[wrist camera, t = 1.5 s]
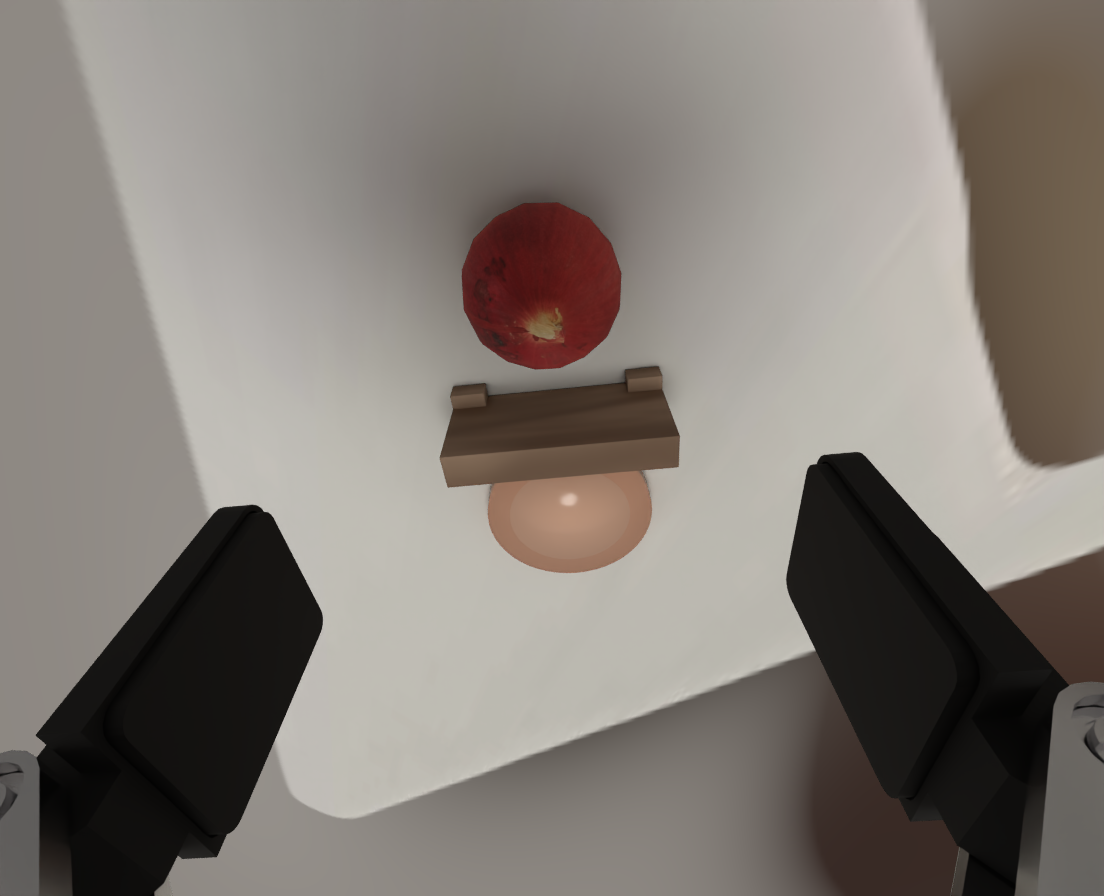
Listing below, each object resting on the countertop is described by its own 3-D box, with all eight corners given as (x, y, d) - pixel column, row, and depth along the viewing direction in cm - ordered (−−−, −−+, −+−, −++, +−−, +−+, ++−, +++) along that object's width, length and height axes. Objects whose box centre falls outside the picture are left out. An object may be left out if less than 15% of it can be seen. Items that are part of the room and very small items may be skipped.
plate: (476, 444, 28) (474, 458, 27) (648, 428, 28) (652, 442, 27) (503, 563, 33) (501, 579, 32) (648, 551, 33) (651, 567, 32)
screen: (453, 386, 26) (435, 444, 22) (658, 366, 26) (680, 421, 21) (465, 437, 28) (451, 499, 24) (658, 419, 27) (678, 480, 23)
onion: (509, 344, 25) (496, 439, 18) (448, 223, 22) (406, 285, 15) (628, 295, 24) (660, 378, 17) (580, 160, 21) (596, 198, 14)
